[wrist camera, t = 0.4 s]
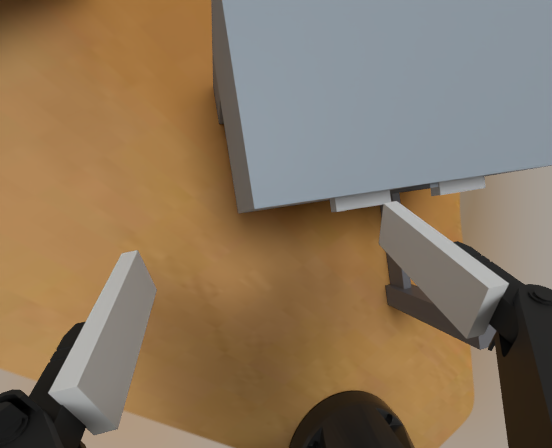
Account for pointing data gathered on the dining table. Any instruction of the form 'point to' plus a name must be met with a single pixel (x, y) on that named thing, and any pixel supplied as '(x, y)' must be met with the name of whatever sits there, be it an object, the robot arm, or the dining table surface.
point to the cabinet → (379, 96)
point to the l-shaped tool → (424, 302)
